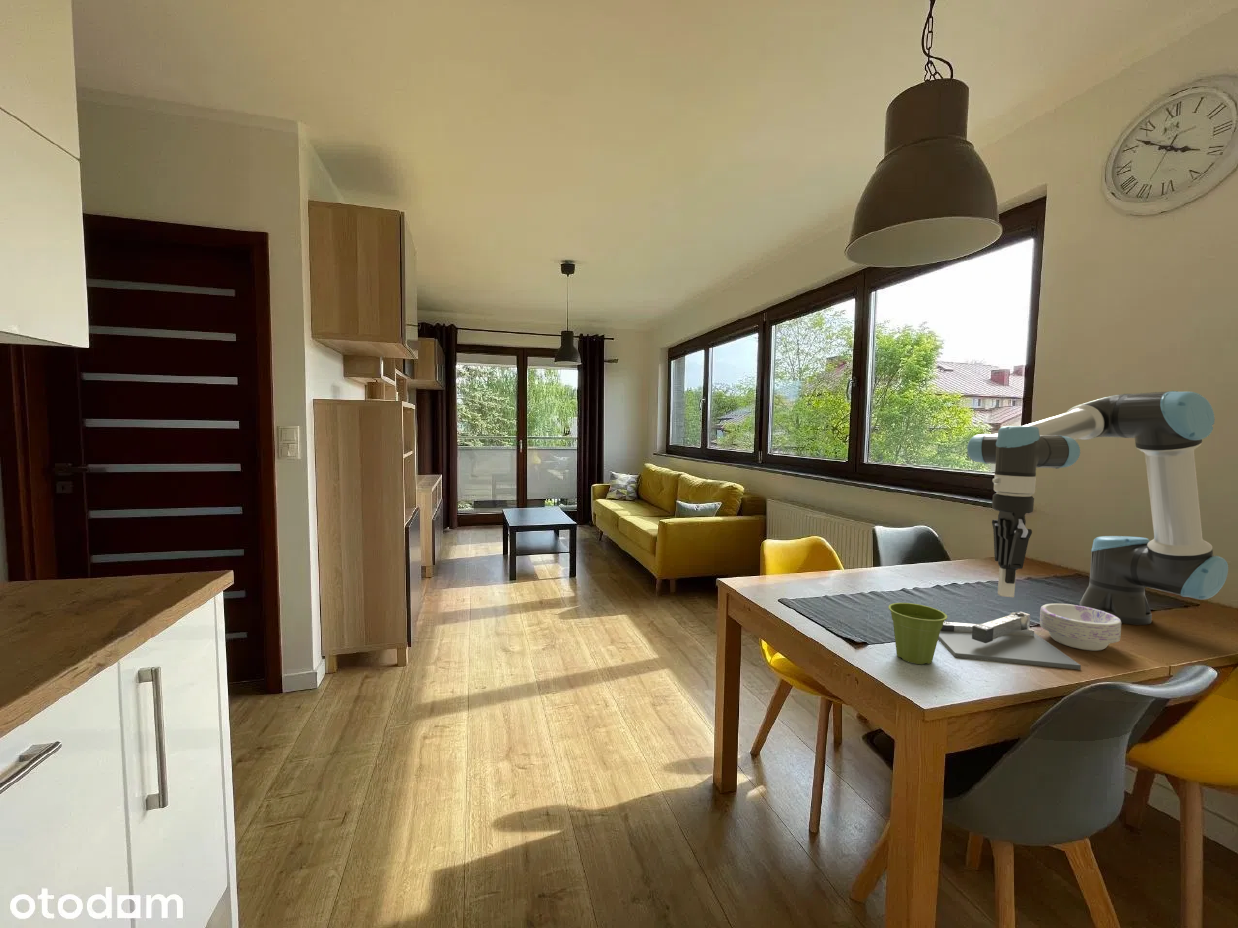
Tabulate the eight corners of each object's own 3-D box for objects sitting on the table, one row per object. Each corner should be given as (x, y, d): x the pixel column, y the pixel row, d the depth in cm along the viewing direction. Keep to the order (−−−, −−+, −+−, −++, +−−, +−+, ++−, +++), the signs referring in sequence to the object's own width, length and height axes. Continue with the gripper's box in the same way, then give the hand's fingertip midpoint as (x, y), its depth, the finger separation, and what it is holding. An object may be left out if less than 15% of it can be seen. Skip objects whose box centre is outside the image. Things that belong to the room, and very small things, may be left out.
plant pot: (954, 672, 114) (957, 622, 114) (895, 667, 117) (898, 617, 116) (931, 649, 126) (934, 604, 125) (879, 645, 128) (881, 600, 127)
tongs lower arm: (1027, 632, 135) (1028, 626, 135) (1034, 637, 132) (1035, 630, 132) (935, 626, 138) (935, 620, 138) (940, 630, 135) (940, 624, 135)
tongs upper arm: (1016, 622, 137) (1017, 609, 137) (1032, 627, 134) (1033, 613, 133) (970, 638, 126) (971, 623, 126) (986, 643, 123) (987, 628, 123)
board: (1029, 633, 137) (1030, 629, 137) (1080, 669, 117) (1080, 665, 116) (924, 624, 143) (924, 620, 142) (955, 657, 122) (955, 652, 122)
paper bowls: (1024, 636, 135) (1027, 606, 135) (1060, 628, 141) (1063, 599, 140) (1096, 660, 121) (1099, 627, 121) (1133, 651, 127) (1136, 619, 126)
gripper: (981, 490, 126) (975, 586, 128) (1008, 496, 113) (1000, 603, 115) (1017, 491, 124) (1010, 588, 126) (1048, 498, 112) (1040, 606, 113)
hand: (1005, 595), depth 121 cm, fingers closed
